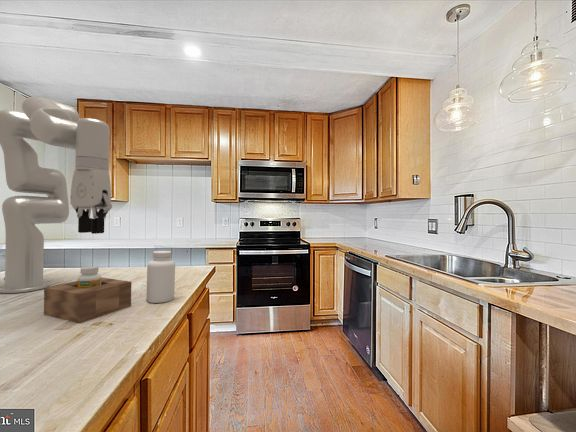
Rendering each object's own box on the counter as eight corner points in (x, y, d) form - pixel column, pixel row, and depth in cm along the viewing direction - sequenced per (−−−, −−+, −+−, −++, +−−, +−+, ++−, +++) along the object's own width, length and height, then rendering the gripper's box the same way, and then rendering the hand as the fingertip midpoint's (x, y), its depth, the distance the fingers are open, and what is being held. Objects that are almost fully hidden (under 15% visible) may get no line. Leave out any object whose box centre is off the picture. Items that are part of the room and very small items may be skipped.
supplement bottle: (101, 298, 80) (101, 265, 80) (100, 303, 76) (101, 268, 76) (77, 301, 77) (78, 266, 77) (76, 306, 73) (76, 270, 73)
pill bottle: (179, 298, 88) (180, 251, 88) (156, 305, 81) (157, 254, 81) (164, 294, 92) (165, 249, 92) (140, 300, 86) (141, 251, 85)
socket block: (43, 314, 72) (44, 287, 72) (97, 299, 85) (97, 276, 85) (79, 323, 67) (80, 294, 67) (130, 305, 80) (131, 281, 80)
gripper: (57, 164, 76) (55, 232, 76) (100, 162, 70) (99, 235, 70) (85, 169, 83) (84, 231, 83) (127, 167, 77) (126, 233, 77)
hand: (91, 232), depth 76 cm, fingers open, 4 cm apart
